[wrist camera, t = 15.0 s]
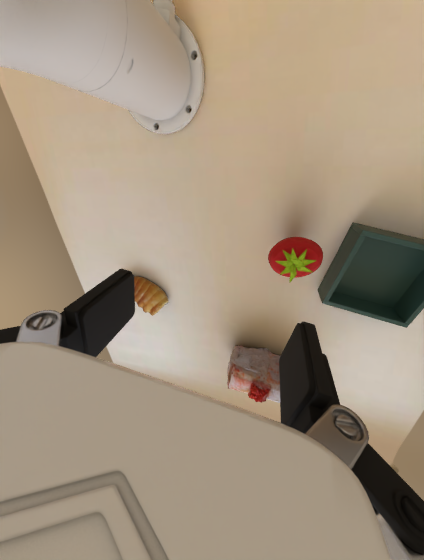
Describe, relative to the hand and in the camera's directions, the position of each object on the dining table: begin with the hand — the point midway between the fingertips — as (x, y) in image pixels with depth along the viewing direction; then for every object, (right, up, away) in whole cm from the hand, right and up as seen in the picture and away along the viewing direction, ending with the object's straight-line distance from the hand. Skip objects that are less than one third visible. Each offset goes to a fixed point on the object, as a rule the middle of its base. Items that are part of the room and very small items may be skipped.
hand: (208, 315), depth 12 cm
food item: (+12, -16, +38) cm, 42 cm away
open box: (+26, +4, +23) cm, 35 cm away
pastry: (-14, -1, +37) cm, 39 cm away
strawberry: (+14, +8, +24) cm, 29 cm away
